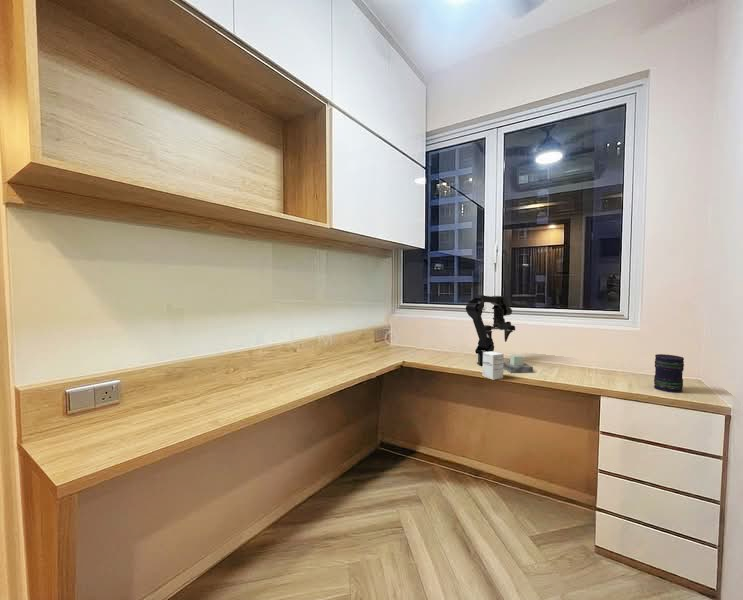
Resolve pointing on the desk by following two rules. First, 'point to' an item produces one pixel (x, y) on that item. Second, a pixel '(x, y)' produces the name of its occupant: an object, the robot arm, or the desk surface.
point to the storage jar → (668, 373)
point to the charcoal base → (517, 368)
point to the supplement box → (493, 365)
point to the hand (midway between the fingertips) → (498, 341)
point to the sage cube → (516, 360)
